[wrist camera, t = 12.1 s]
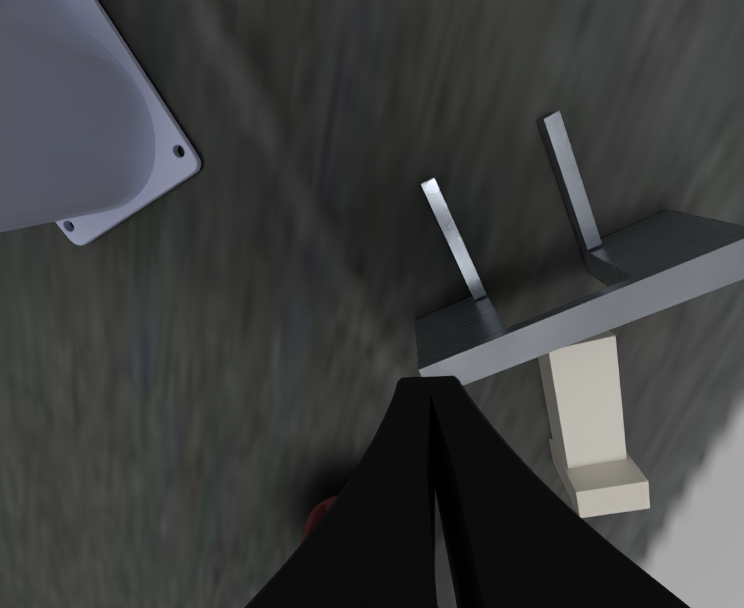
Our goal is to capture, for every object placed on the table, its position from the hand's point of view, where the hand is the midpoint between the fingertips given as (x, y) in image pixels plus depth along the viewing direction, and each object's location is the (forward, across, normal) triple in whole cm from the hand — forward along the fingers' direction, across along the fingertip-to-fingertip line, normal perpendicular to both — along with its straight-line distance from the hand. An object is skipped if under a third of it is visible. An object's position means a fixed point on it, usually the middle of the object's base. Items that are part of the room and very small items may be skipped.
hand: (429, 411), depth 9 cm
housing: (+10, -5, -2) cm, 11 cm away
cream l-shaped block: (+10, -8, +8) cm, 15 cm away
